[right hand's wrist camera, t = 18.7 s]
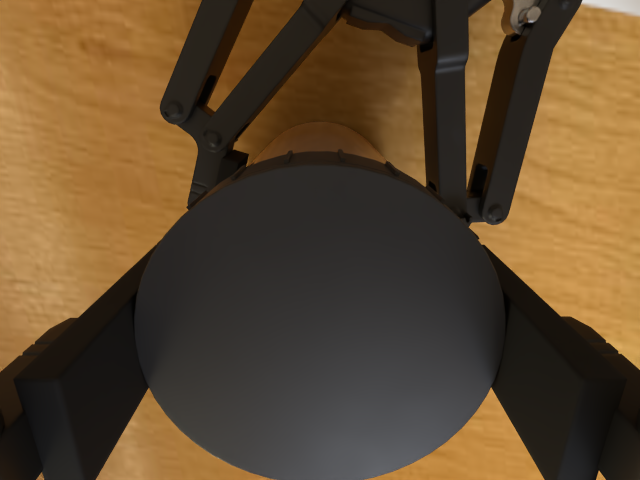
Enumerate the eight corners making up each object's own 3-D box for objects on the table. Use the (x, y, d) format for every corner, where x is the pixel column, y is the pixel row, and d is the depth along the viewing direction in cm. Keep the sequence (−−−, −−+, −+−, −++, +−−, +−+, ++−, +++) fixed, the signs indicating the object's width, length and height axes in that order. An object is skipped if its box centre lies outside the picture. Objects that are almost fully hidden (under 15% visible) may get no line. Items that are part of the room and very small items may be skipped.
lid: (136, 389, 13) (104, 441, 11) (198, 97, 10) (169, 98, 8) (405, 458, 14) (419, 516, 12) (536, 210, 11) (582, 235, 9)
